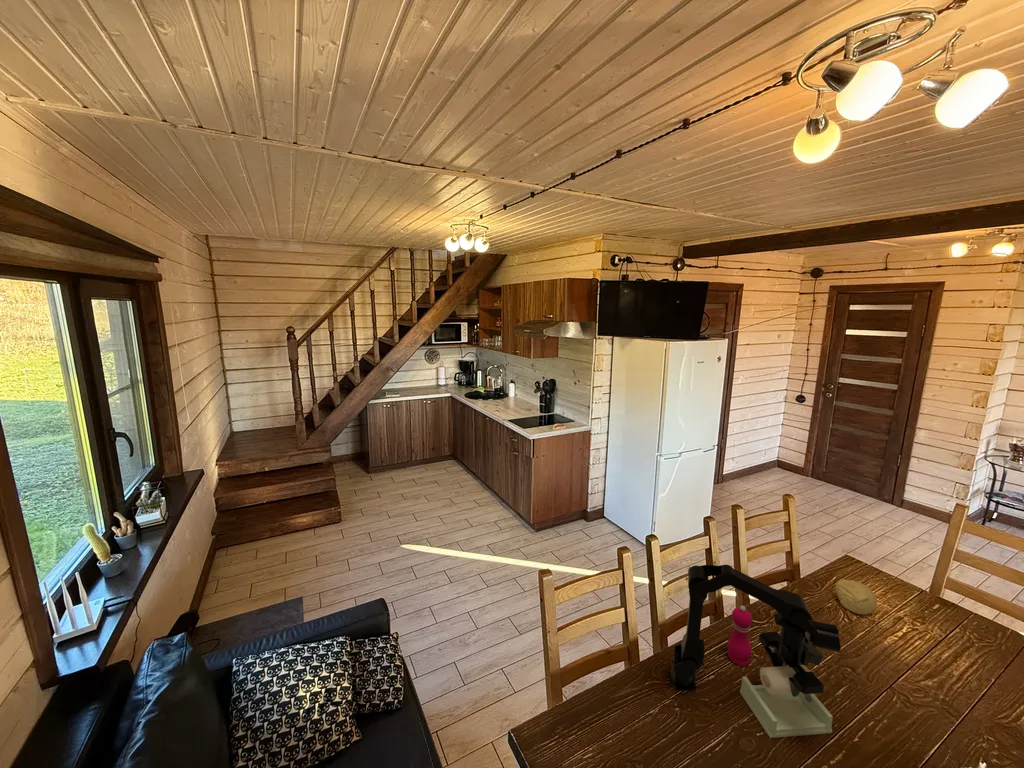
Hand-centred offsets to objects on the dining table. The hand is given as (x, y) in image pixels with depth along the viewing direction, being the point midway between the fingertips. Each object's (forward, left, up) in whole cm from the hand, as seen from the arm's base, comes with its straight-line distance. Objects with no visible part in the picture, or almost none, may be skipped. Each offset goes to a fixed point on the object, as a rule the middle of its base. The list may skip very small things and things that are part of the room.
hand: (786, 685), depth 120 cm
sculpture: (+57, +38, -9) cm, 69 cm away
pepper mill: (-2, +19, -9) cm, 21 cm away
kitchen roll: (0, 0, +2) cm, 2 cm away
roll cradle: (0, 0, -9) cm, 9 cm away
